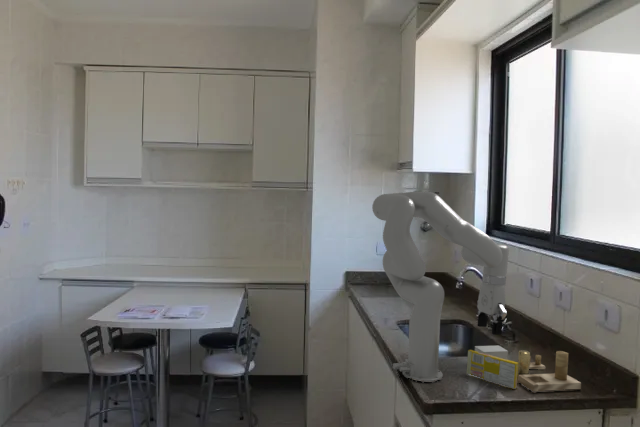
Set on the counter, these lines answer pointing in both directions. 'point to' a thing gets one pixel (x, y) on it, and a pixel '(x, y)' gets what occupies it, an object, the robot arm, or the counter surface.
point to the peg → (523, 362)
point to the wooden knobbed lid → (536, 363)
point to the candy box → (492, 368)
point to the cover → (493, 351)
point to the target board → (552, 377)
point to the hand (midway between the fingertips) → (489, 330)
